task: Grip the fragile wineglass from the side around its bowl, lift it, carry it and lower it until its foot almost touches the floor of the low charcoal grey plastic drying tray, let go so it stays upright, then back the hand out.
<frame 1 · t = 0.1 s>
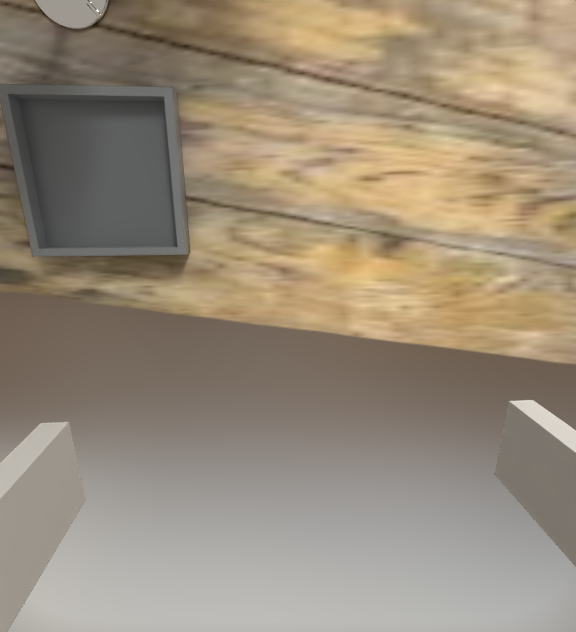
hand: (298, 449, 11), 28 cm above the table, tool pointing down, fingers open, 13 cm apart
drying tray: (108, 178, 34), on the table
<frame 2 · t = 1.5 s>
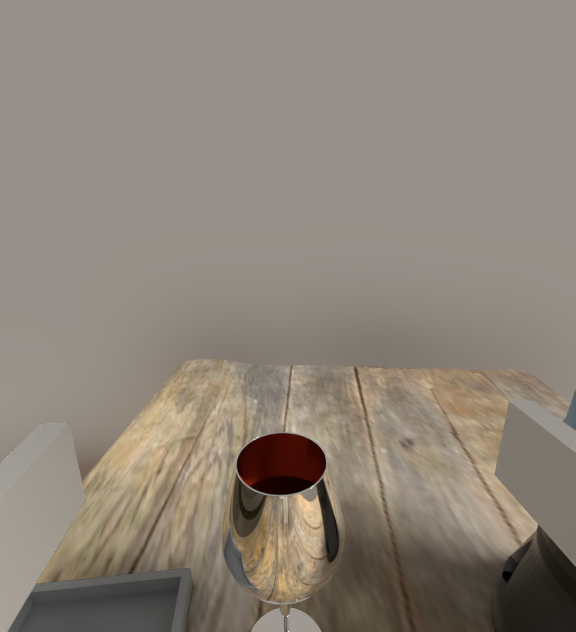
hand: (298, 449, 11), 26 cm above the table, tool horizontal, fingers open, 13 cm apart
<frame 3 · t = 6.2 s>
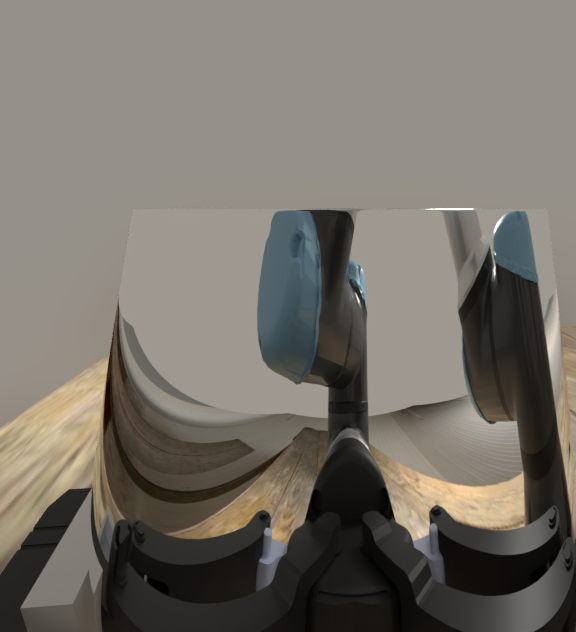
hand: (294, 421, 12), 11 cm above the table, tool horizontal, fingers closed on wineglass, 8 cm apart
when the fingers open (12 cm above the table, at t = 13.2 s): wineglass stays where it is, resting on drying tray.
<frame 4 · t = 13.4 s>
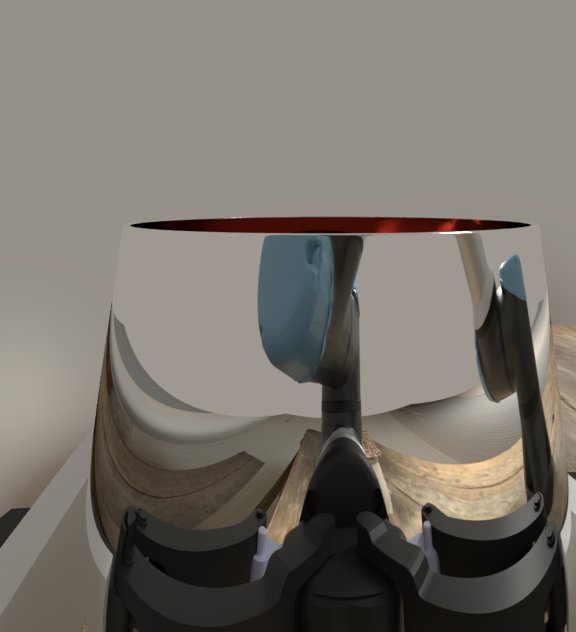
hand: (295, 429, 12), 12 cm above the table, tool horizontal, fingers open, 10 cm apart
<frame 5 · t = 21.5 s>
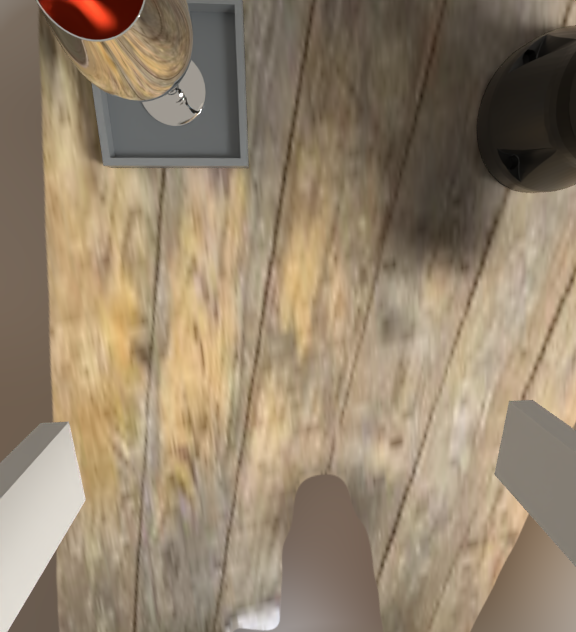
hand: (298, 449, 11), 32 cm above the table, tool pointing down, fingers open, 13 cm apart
wineglass: (173, 90, 35), point 1 cm above the table, touching drying tray
drying tray: (174, 91, 35), on the table
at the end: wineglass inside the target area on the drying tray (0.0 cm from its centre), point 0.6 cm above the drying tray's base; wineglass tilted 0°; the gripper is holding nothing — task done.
